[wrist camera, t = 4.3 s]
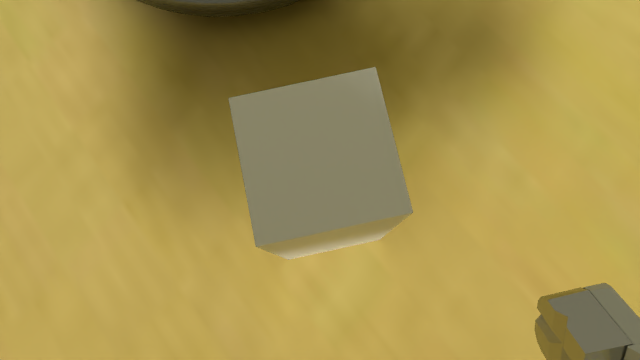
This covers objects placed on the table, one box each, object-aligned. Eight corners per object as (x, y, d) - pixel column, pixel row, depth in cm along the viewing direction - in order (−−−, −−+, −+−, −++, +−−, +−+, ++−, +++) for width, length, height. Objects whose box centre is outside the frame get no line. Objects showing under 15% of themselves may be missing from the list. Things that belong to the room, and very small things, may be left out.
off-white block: (288, 259, 23) (255, 246, 13) (270, 171, 24) (228, 98, 14) (378, 240, 23) (413, 212, 13) (358, 152, 24) (375, 66, 14)
